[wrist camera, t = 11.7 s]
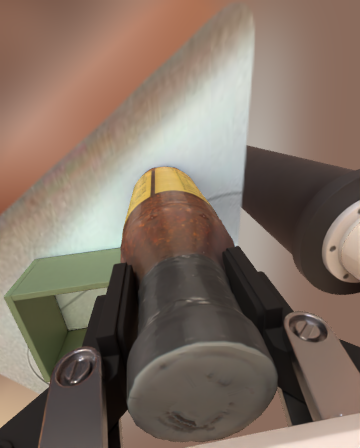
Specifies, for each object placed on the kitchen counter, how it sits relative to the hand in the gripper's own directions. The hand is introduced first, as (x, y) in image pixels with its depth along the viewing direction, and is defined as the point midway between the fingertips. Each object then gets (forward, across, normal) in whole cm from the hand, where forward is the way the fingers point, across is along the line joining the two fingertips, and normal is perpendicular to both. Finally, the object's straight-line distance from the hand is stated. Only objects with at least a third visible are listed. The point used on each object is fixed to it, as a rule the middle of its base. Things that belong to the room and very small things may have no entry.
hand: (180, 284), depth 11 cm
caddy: (+15, +9, +11) cm, 20 cm away
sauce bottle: (+15, 0, 0) cm, 15 cm away
